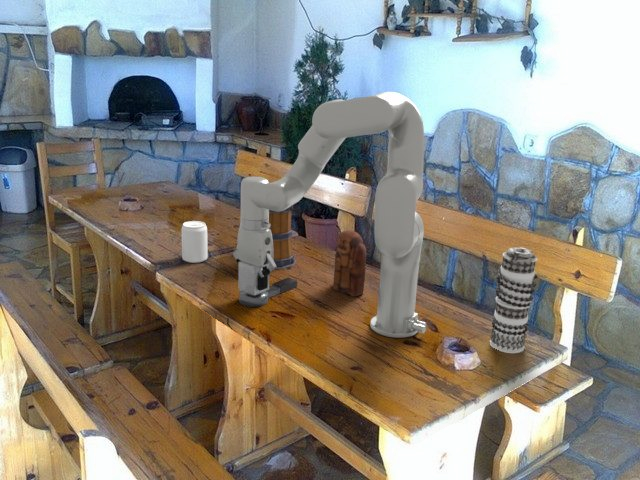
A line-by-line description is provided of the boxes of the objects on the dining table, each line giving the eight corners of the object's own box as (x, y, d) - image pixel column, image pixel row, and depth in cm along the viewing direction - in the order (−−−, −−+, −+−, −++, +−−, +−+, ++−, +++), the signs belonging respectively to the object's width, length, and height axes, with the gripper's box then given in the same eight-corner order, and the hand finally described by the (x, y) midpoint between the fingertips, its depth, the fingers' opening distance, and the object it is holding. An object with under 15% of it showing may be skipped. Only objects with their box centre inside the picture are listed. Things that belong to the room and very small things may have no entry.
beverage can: (179, 256, 213) (178, 221, 209) (203, 254, 216) (203, 219, 212) (185, 265, 206) (184, 228, 202) (210, 262, 209) (210, 226, 205)
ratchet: (303, 288, 192) (304, 269, 190) (253, 309, 176) (254, 288, 174) (283, 281, 196) (283, 262, 194) (233, 301, 180) (233, 281, 179)
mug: (241, 252, 220) (241, 194, 214) (280, 247, 226) (282, 191, 220) (260, 271, 203) (261, 209, 197) (303, 266, 209) (305, 206, 203)
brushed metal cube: (269, 289, 181) (269, 262, 178) (254, 295, 176) (254, 267, 174) (253, 283, 184) (253, 256, 182) (238, 289, 180) (238, 262, 177)
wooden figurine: (325, 286, 194) (328, 228, 188) (341, 281, 198) (344, 225, 192) (353, 299, 186) (357, 239, 180) (369, 293, 190) (373, 235, 184)
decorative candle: (497, 333, 168) (510, 241, 160) (531, 345, 163) (546, 250, 155) (481, 345, 161) (493, 249, 154) (516, 357, 156) (531, 259, 148)
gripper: (288, 227, 172) (286, 290, 178) (241, 214, 182) (241, 274, 188) (268, 233, 166) (267, 298, 172) (222, 219, 176) (222, 281, 182)
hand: (254, 285), depth 180 cm, fingers closed on brushed metal cube, 5 cm apart
